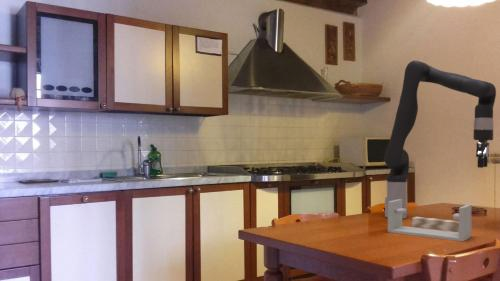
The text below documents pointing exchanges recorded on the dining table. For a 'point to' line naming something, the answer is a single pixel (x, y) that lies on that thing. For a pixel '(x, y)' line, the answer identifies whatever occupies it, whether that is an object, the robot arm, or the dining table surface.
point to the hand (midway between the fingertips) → (482, 167)
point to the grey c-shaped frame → (396, 227)
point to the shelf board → (435, 224)
